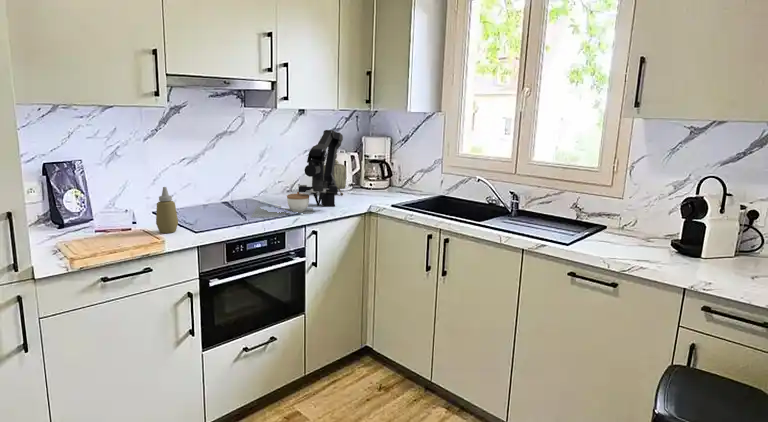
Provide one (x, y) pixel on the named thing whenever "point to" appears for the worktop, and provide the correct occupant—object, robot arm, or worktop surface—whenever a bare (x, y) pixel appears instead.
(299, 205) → the lidded jar
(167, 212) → the squeeze bottle
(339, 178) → the olive tall container
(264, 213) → the t mat
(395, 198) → the worktop surface
